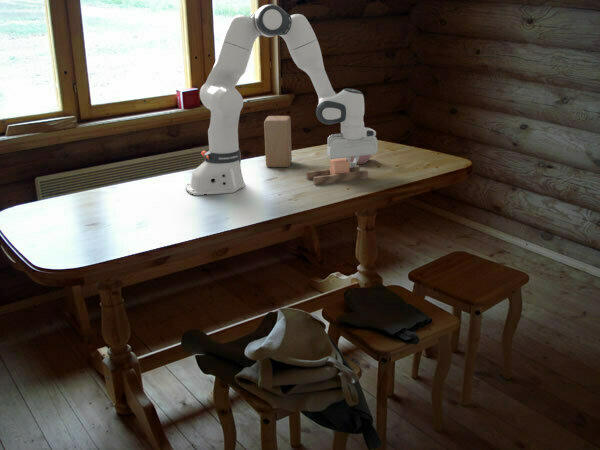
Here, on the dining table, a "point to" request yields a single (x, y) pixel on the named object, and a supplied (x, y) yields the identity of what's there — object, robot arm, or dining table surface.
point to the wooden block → (278, 141)
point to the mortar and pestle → (361, 159)
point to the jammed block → (339, 166)
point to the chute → (336, 176)
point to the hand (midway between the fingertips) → (352, 167)
